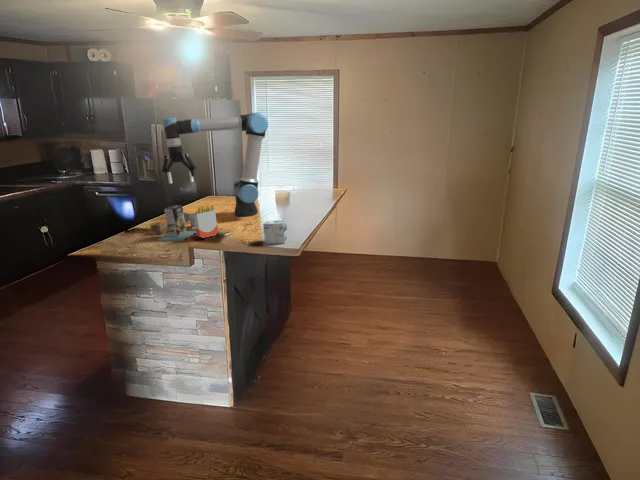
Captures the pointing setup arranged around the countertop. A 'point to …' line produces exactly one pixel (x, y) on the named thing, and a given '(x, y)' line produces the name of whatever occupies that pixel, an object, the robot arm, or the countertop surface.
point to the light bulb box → (275, 232)
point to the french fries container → (206, 222)
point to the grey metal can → (192, 219)
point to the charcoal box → (186, 217)
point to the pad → (180, 238)
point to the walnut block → (158, 228)
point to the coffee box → (175, 221)
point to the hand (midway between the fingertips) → (181, 182)
